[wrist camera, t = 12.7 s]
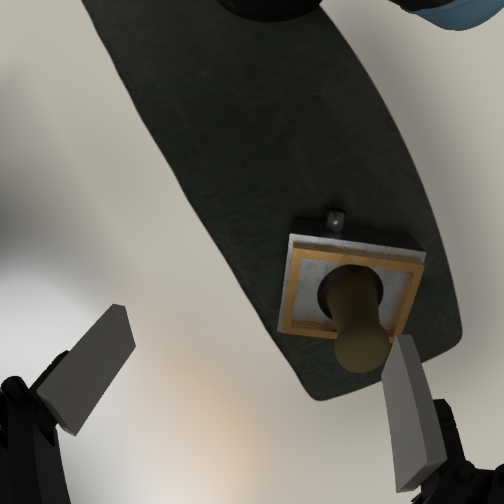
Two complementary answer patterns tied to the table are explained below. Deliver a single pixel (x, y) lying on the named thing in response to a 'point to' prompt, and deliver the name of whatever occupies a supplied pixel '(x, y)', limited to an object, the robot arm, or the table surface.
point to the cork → (357, 323)
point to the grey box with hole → (346, 261)
